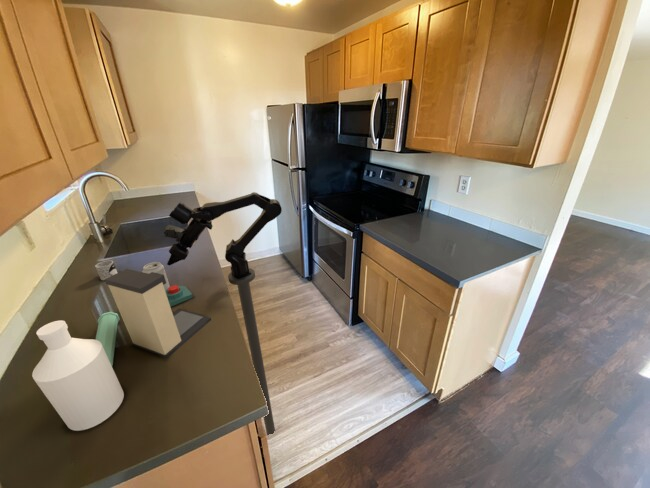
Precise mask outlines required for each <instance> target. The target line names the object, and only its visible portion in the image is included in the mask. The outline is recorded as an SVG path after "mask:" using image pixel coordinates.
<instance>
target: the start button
mask: <svg viewBox="0 0 650 488" xmlns="http://www.w3.org/2000/svg"><path fill="white" fill-rule="evenodd" d="M178 286H179V285H175V284H174V285H170V287H169V288H168V291H169V293H170V294H174V293H177V292H178V291H179V287H178Z"/></svg>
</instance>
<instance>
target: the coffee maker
mask: <svg viewBox="0 0 650 488" xmlns="http://www.w3.org/2000/svg"><path fill="white" fill-rule="evenodd" d="M103 281H104V282H105V284H106V285H107V286H108V288H109V291H110V293H111V295H112V297H113V300H114V302H115V304H116V307H117V309H118V312H119V314H120V316H121V319H122V320H123V323H124V326H125V328H126V331H127V333H128V335H129V337H130V340H131V344H132V346H133V347H137V348H139V349H142V350H145V351H147V352H150V353H152V354H155V355H157V356H160V357H163V358H166V359H169V358H170V357H171V356H172V355H173V354H174V353H175V352H177V350H178V349H180V348H181V347H182V346H183V345H184V344H186V343H187V342H188V341H189V340H190V339H191V338H193V337H194V336H195V335H196V334H197V333H198V332H199V331H200V330H202V329H203V328H204V327H205V326H206V325H208V324H209V323H210V322H211V321H212V317H210V316H207V315H204V314H200V313H196V312H193V311H190V310H186V309H183V308H177V309H176V310H174V311H173V310H172V308H171V307H172V306H171V307H170V304H169V301H168V298H167V295H166V292H165V289H164V286H163V285H164V284H166V280H165V277H164V275H163V274H158V273H154V272H151V273H149V274H148V273H144V272H142V271H139V270H136V269H131V268H125V269H123V270H121V271H119V272H118V273H117V274H115V275H113V276H111V277H109V278H106V279H104V280H103Z"/></svg>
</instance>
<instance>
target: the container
mask: <svg viewBox="0 0 650 488" xmlns="http://www.w3.org/2000/svg"><path fill="white" fill-rule="evenodd" d="M120 320H121V319H120V316H119V314H118V313H116V312H113V311H107V312H104V313H101V314H100V315H99V317H98V319H97V323H98V326H97V330H96V335H95V339H94V340H98V341H100V343H101V344H102V346H103V348H104V350H105V353H106V355H107V357H108V359H109V361H110V364H111V366H112V367H113V364H114V357H115V347H116V339H117V332H118V323H119V322H120Z"/></svg>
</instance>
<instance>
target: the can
mask: <svg viewBox="0 0 650 488" xmlns="http://www.w3.org/2000/svg"><path fill="white" fill-rule="evenodd" d="M141 272H144V273H148V274H149V273H151V272H154V273H158V274H163V275H164V277H165V280H166V284H164V285H163V286H164V289H165V291H166V290H168V288H169V287H171V285H170V282H169V279H168V276H167V272H166V270H165V266H164V265H163V264H162V263H161V262H160V261H152V262H149V263H146V264H145V265H143V267H142V271H141Z"/></svg>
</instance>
